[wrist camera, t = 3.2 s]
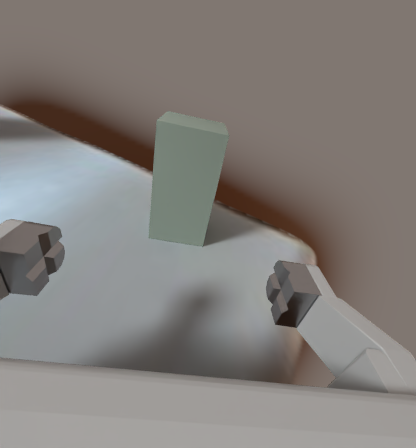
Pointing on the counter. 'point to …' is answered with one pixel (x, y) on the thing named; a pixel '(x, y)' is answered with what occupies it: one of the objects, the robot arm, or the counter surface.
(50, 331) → the counter surface
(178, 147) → the pillar block
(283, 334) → the counter surface
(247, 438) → the robot arm
